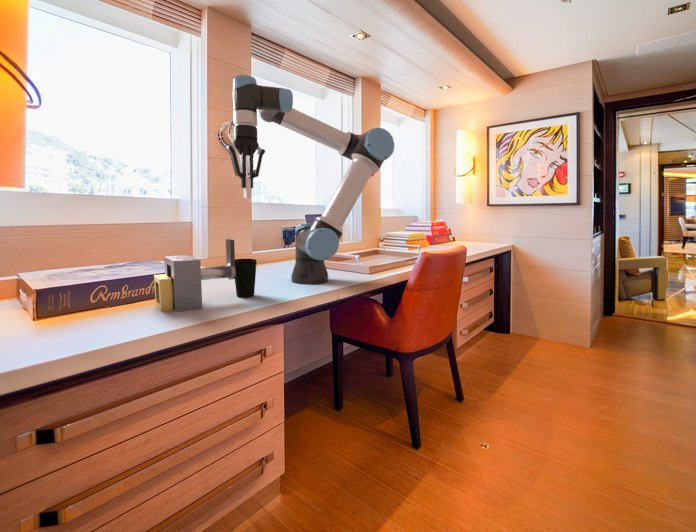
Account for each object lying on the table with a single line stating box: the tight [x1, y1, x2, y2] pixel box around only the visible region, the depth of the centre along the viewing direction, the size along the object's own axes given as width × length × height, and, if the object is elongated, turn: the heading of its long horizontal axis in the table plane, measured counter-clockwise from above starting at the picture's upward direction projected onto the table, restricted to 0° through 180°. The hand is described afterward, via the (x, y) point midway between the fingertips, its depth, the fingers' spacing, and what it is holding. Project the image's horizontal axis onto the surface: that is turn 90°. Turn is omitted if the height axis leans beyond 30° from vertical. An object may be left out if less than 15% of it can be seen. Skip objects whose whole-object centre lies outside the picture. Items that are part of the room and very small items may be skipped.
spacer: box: [153, 273, 174, 313], centre depth 107 cm, size 3×9×9 cm, turn 36°
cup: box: [234, 258, 258, 299], centre depth 123 cm, size 8×8×12 cm
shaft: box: [201, 238, 236, 281], centre depth 113 cm, size 16×5×13 cm, turn 125°
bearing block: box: [163, 254, 203, 313], centre depth 110 cm, size 7×14×14 cm, turn 35°
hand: (247, 197), depth 128 cm, fingers closed
